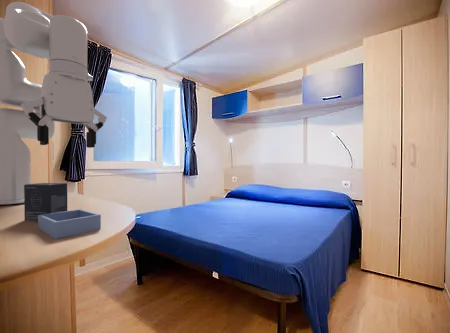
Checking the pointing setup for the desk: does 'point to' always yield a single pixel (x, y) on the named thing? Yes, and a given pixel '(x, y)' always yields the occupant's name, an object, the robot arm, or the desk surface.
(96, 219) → the tray
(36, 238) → the desk surface
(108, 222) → the desk surface
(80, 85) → the robot arm
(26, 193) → the box
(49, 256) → the desk surface
